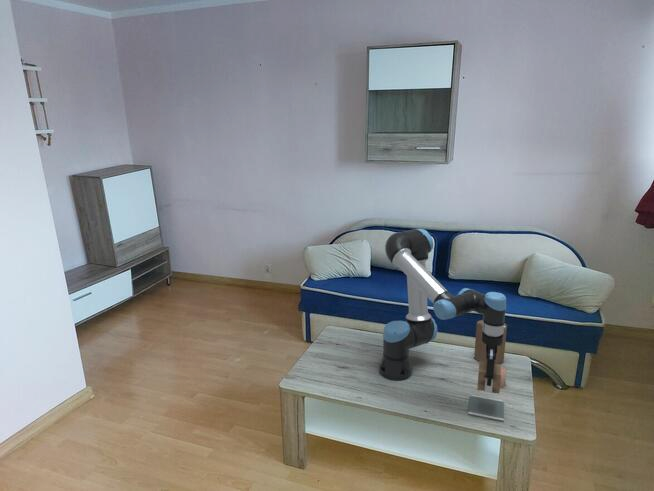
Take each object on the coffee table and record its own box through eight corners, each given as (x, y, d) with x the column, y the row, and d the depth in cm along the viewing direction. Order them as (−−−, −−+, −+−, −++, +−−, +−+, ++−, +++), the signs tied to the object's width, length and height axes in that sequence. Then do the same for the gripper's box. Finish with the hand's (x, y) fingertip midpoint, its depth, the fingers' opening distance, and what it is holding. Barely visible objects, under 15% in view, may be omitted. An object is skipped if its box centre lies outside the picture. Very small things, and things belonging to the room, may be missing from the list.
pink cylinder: (489, 386, 189) (490, 371, 187) (489, 378, 195) (490, 364, 193) (505, 389, 187) (506, 374, 185) (505, 381, 192) (506, 366, 190)
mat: (468, 414, 170) (468, 412, 170) (470, 396, 182) (470, 394, 182) (503, 422, 166) (504, 420, 166) (503, 402, 178) (503, 400, 177)
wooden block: (489, 368, 203) (492, 329, 197) (473, 358, 211) (476, 320, 206) (504, 362, 207) (508, 324, 202) (488, 353, 216) (491, 316, 210)
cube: (477, 389, 169) (478, 371, 167) (478, 378, 176) (479, 361, 174) (499, 393, 166) (501, 375, 164) (499, 382, 173) (501, 364, 171)
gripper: (503, 346, 155) (498, 402, 160) (503, 322, 173) (498, 373, 179) (481, 343, 157) (477, 398, 163) (483, 320, 176) (479, 370, 182)
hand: (488, 385), depth 171 cm, fingers closed on cube, 8 cm apart
